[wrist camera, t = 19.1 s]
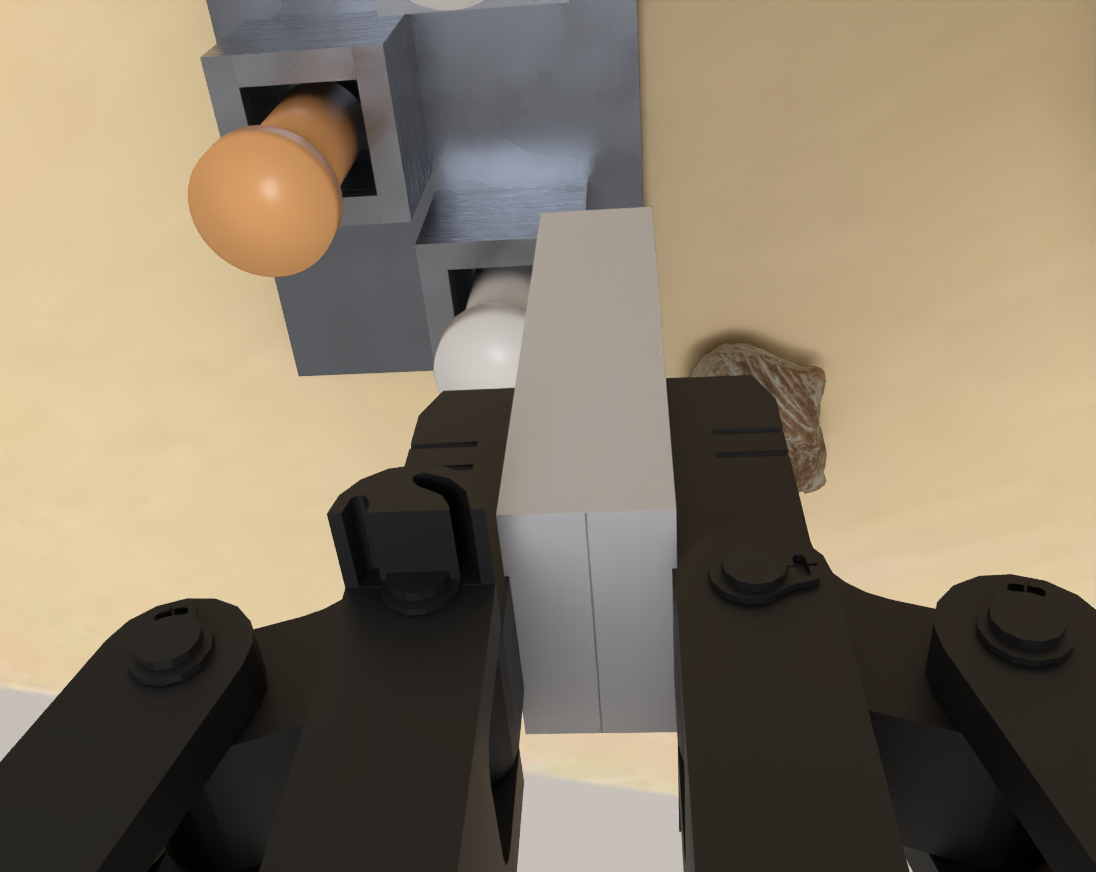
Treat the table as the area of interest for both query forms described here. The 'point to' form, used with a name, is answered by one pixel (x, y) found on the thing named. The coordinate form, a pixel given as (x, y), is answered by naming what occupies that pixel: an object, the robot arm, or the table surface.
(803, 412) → the seashell
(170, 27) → the table surface
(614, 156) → the gray socket stand
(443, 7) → the plug
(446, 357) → the plug
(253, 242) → the plug terracotta
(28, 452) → the table surface
